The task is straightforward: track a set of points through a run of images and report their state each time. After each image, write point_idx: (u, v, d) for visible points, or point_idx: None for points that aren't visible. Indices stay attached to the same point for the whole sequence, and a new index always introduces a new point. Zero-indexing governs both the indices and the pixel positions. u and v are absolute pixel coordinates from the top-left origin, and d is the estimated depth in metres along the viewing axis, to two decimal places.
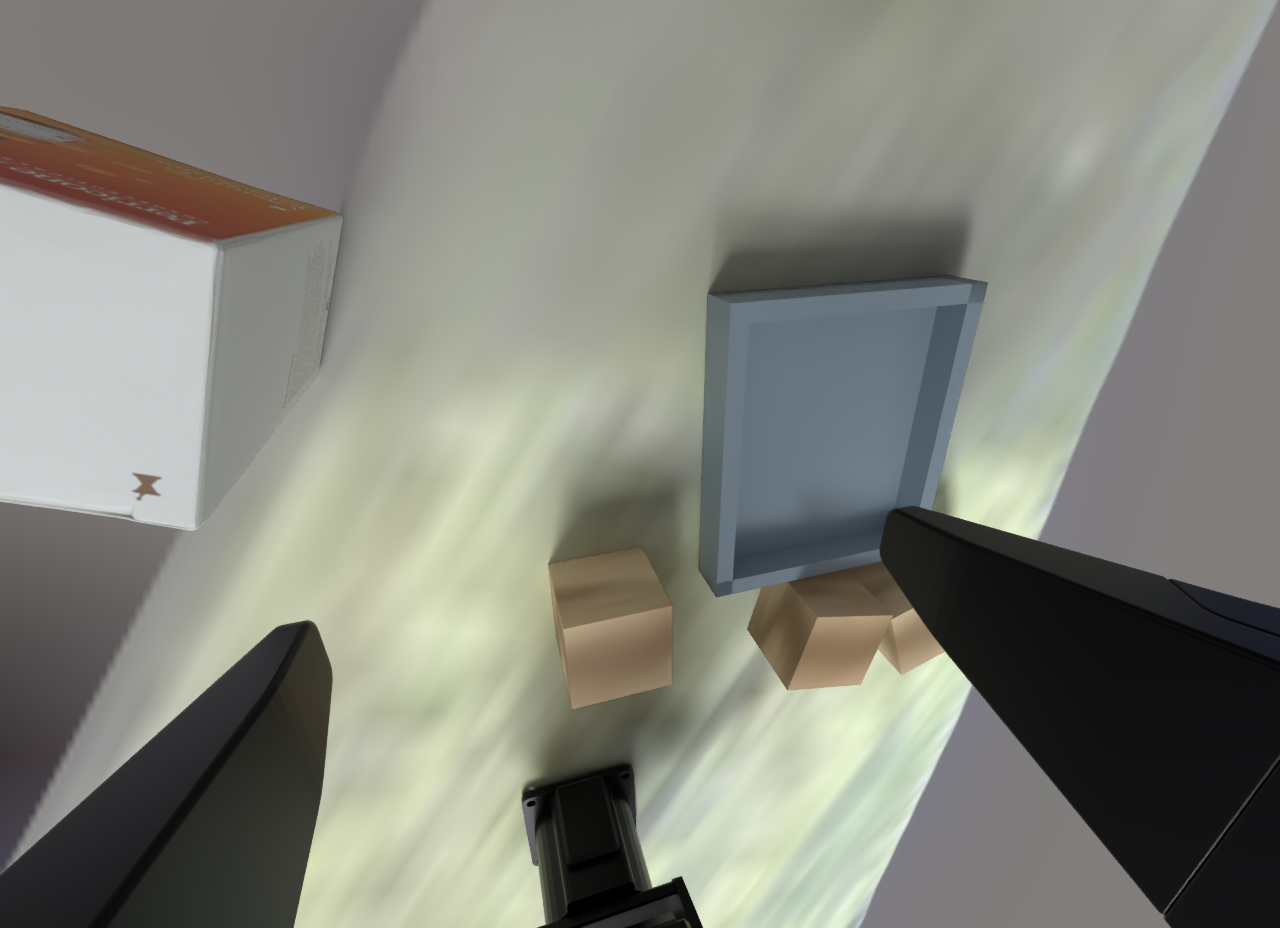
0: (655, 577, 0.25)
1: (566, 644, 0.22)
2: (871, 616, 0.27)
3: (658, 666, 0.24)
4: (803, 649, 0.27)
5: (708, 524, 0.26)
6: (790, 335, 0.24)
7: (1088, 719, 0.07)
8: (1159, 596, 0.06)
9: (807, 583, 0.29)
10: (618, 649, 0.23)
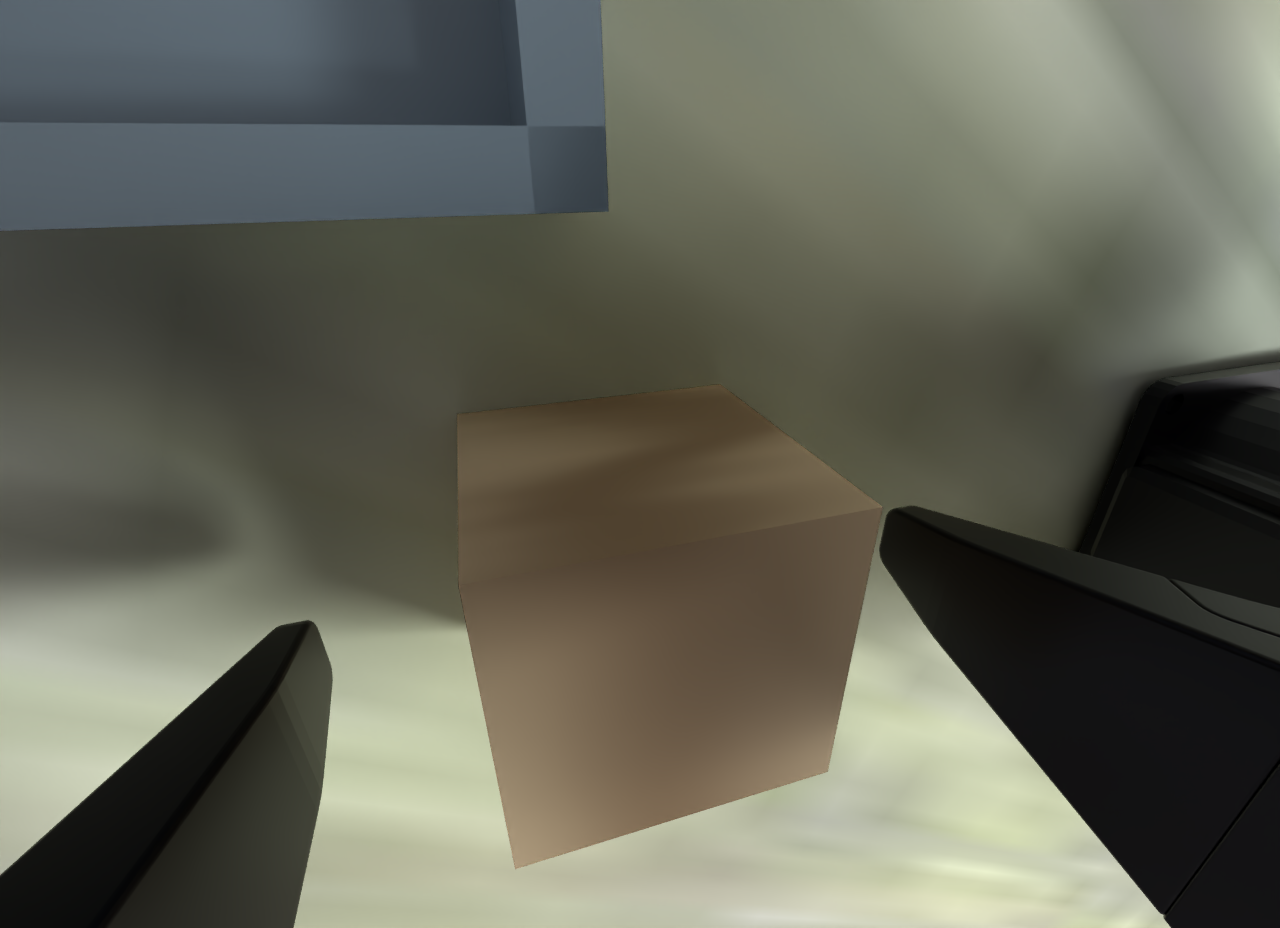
0: (458, 493, 0.07)
1: (578, 846, 0.07)
2: None
3: (772, 576, 0.06)
4: None
5: None
6: None
7: (1088, 719, 0.07)
8: (1159, 596, 0.06)
9: None
10: (644, 717, 0.07)
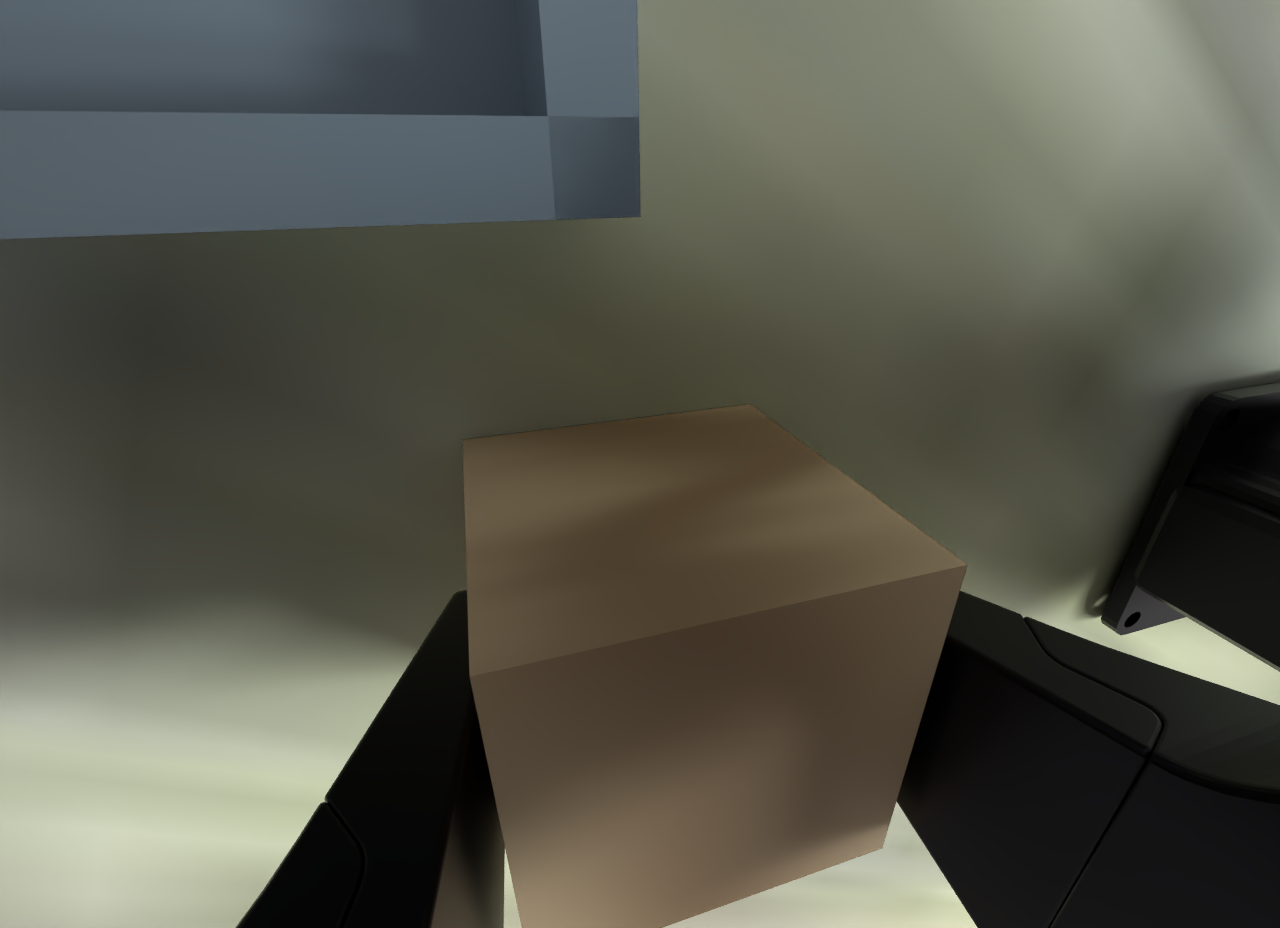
0: (466, 543, 0.06)
1: None
2: None
3: (838, 647, 0.05)
4: None
5: None
6: None
7: (941, 768, 0.06)
8: (1005, 638, 0.06)
9: None
10: (684, 806, 0.06)
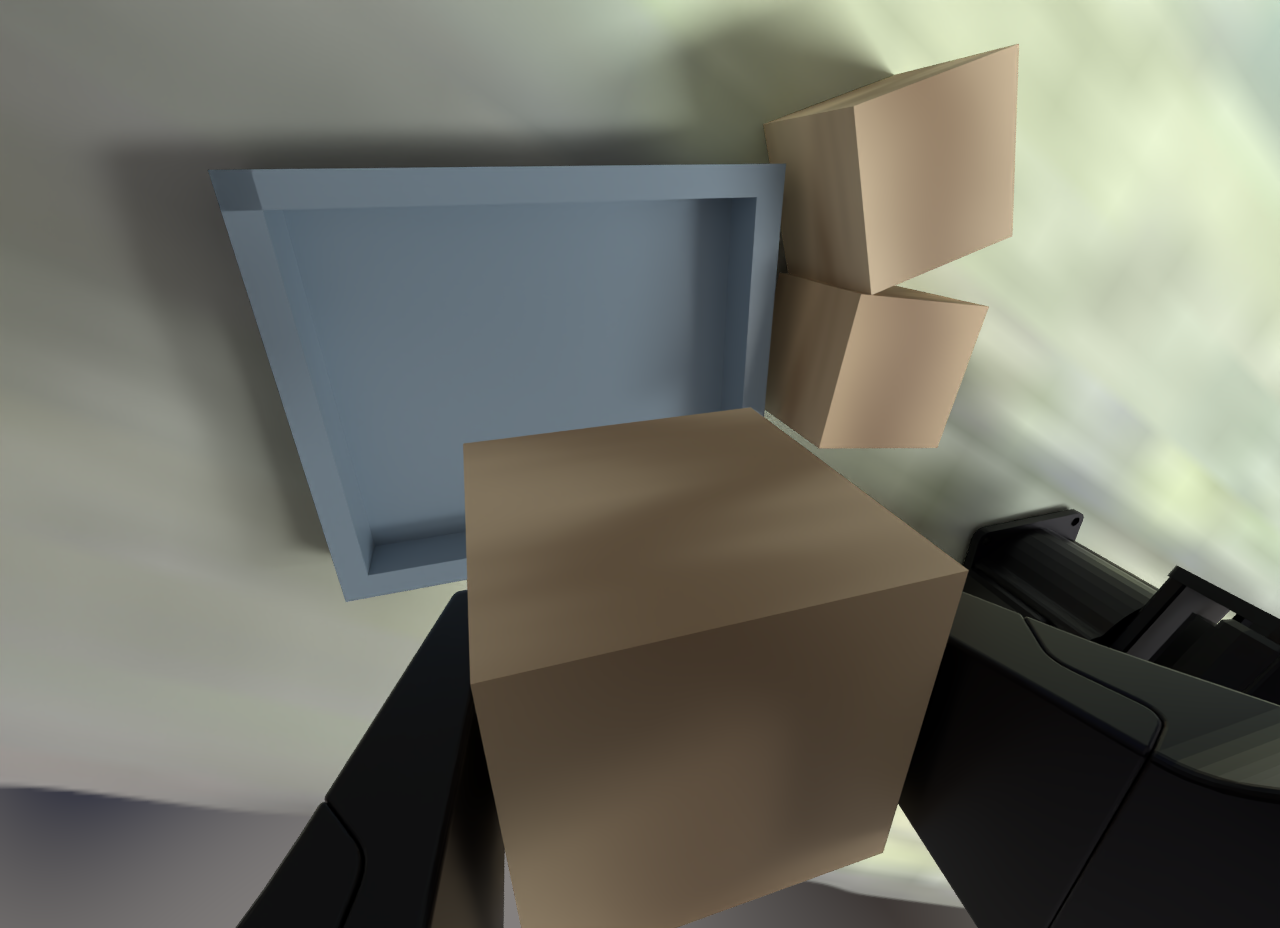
0: None
1: None
2: (848, 343, 0.16)
3: (839, 652, 0.05)
4: (871, 447, 0.17)
5: None
6: (391, 465, 0.17)
7: (941, 768, 0.06)
8: (1005, 638, 0.06)
9: (784, 385, 0.19)
10: (685, 812, 0.06)
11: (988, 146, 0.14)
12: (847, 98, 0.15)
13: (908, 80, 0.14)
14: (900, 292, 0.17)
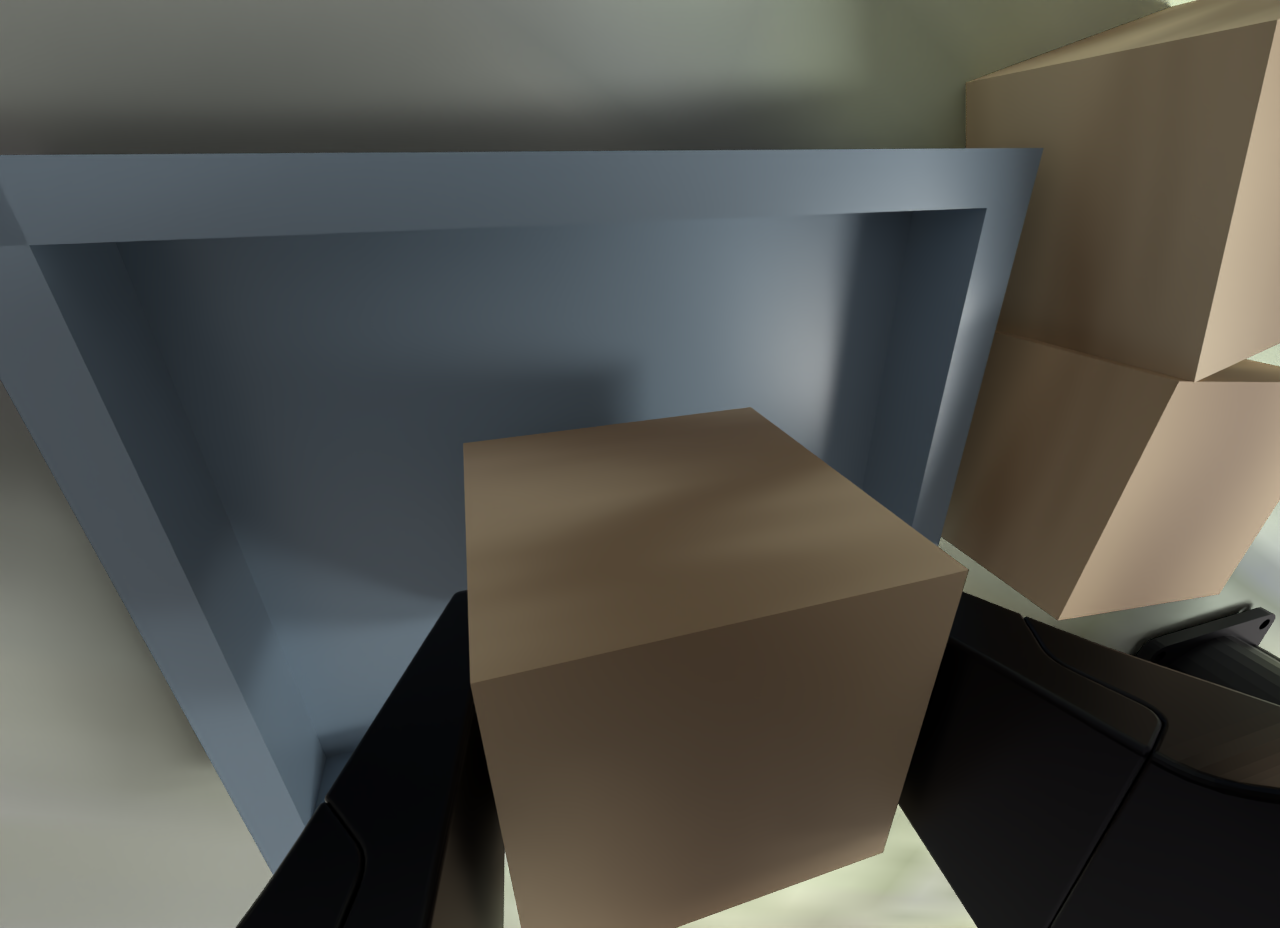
0: None
1: None
2: (1139, 461, 0.09)
3: (839, 652, 0.05)
4: (1130, 607, 0.11)
5: None
6: (348, 646, 0.11)
7: (941, 768, 0.06)
8: (1005, 638, 0.06)
9: (967, 497, 0.12)
10: (685, 812, 0.06)
11: None
12: (1151, 30, 0.09)
13: None
14: None
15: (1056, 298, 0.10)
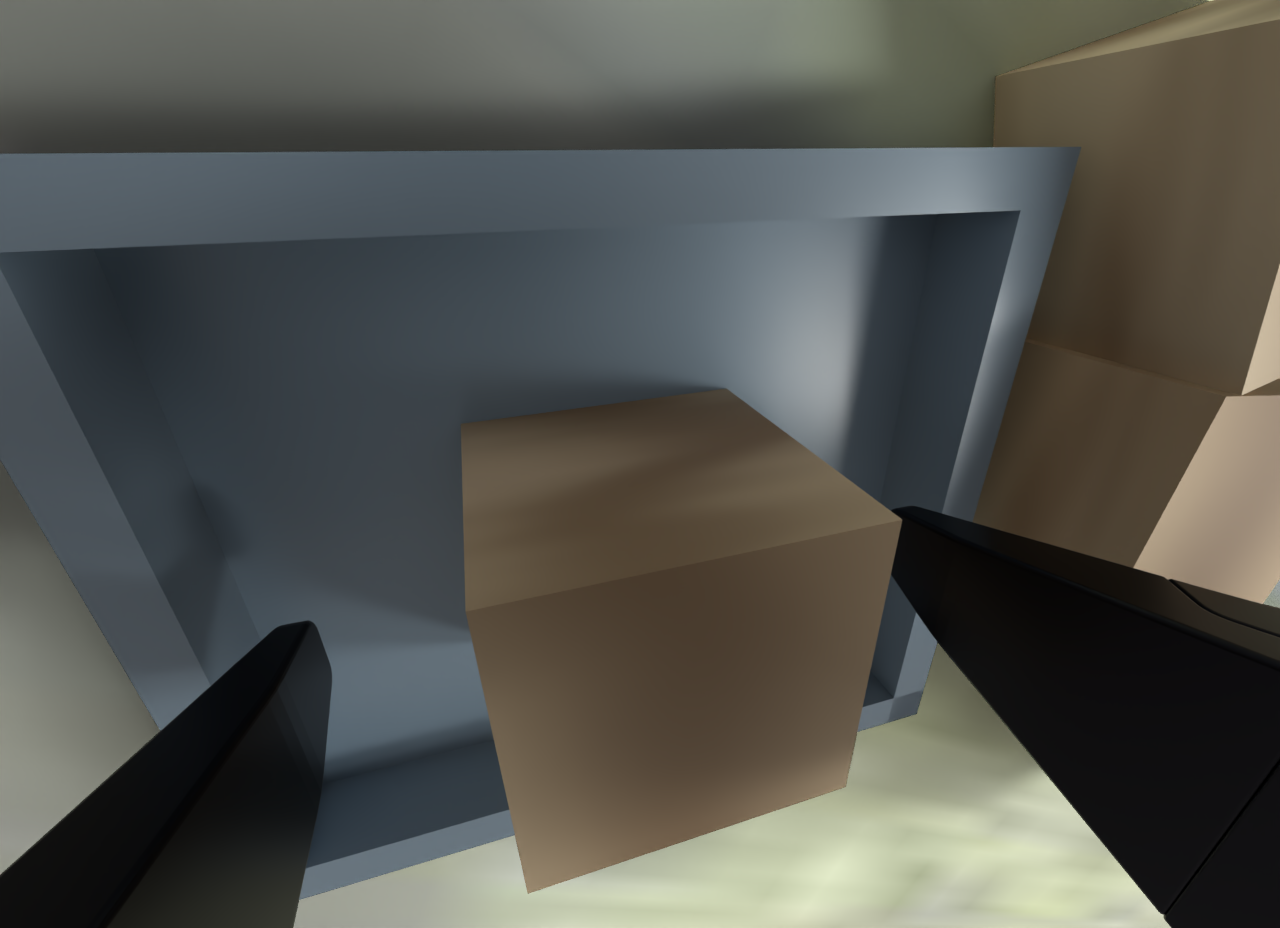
0: None
1: (592, 869, 0.07)
2: (1181, 479, 0.08)
3: (788, 592, 0.06)
4: None
5: None
6: (344, 669, 0.10)
7: (1088, 719, 0.07)
8: (1159, 596, 0.06)
9: (992, 512, 0.11)
10: (657, 738, 0.06)
11: None
12: (1198, 21, 0.08)
13: None
14: None
15: (1089, 304, 0.10)
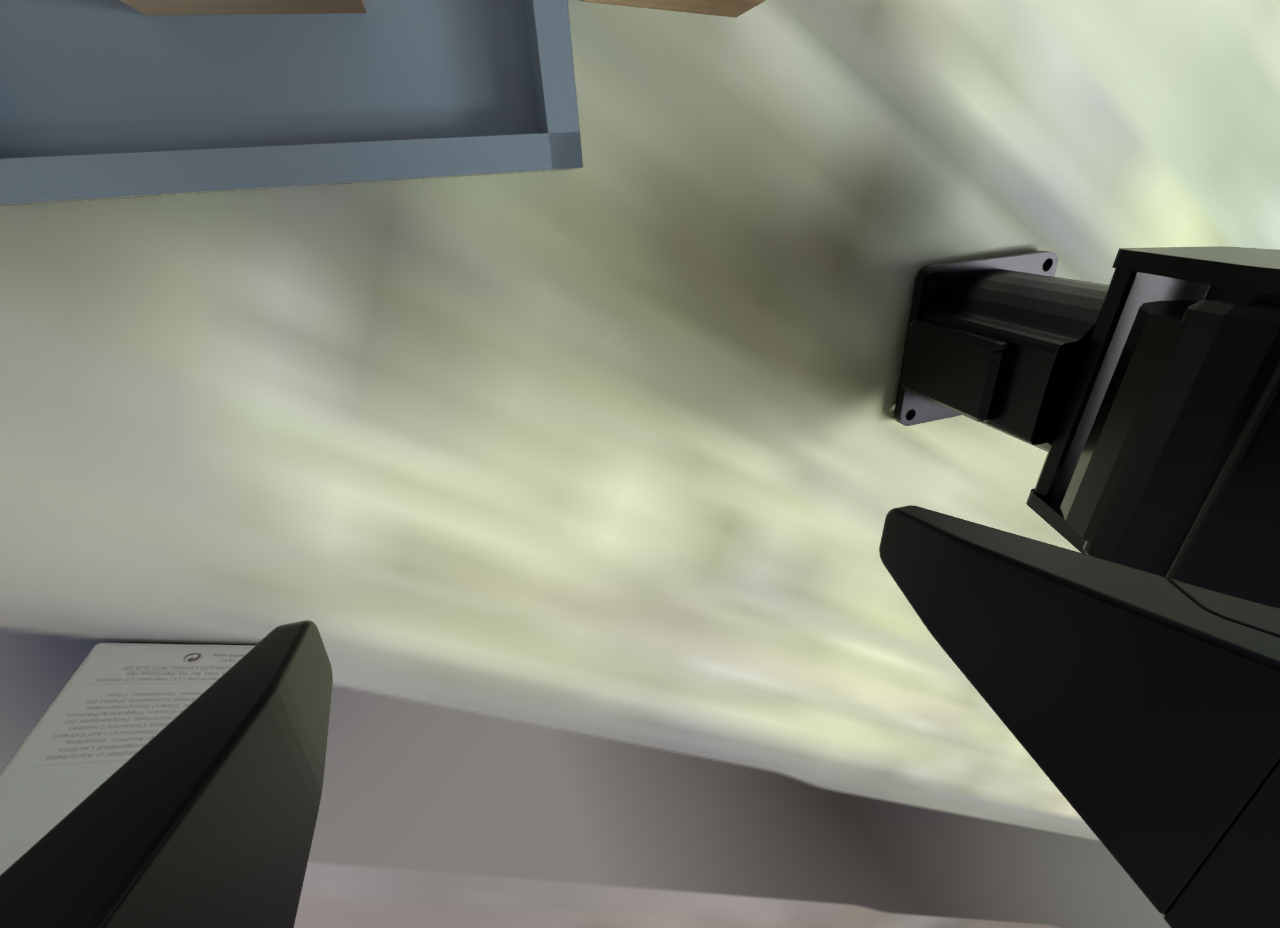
0: None
1: None
2: None
3: None
4: None
5: (450, 176, 0.15)
6: None
7: (1088, 719, 0.07)
8: (1159, 596, 0.06)
9: None
10: None
11: None
12: None
13: None
14: None
15: None
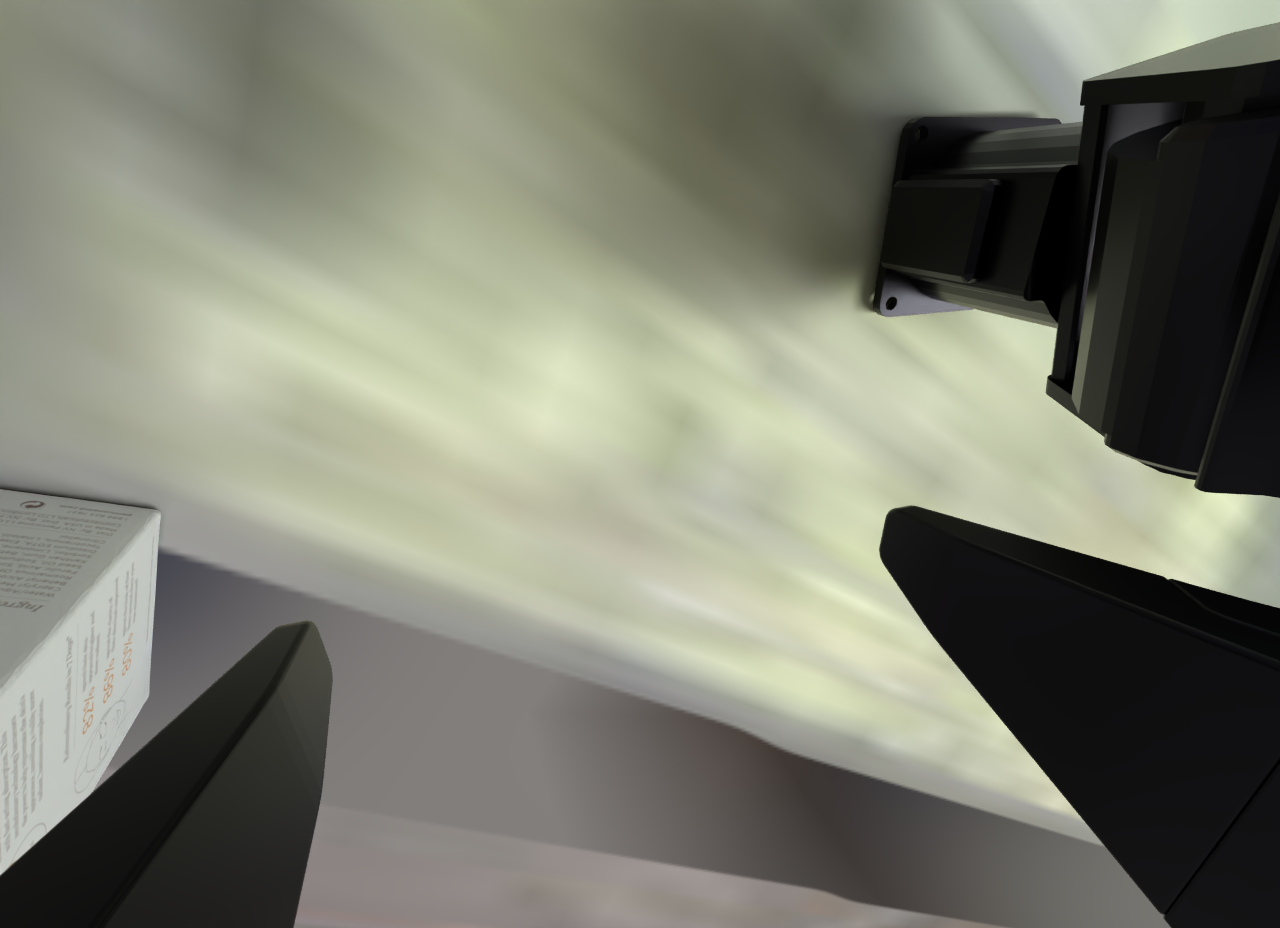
0: None
1: None
2: None
3: None
4: None
5: None
6: None
7: (1088, 719, 0.07)
8: (1159, 596, 0.06)
9: None
10: None
11: None
12: None
13: None
14: None
15: None
